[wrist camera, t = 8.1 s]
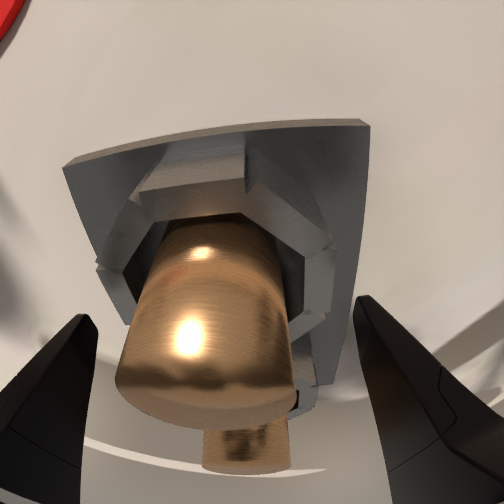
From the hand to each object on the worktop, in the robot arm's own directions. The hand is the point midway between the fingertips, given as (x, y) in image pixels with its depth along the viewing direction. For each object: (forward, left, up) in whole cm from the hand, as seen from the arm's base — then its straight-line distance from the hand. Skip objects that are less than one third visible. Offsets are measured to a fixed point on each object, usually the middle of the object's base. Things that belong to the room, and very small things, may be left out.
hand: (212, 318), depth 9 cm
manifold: (0, +5, -5) cm, 7 cm away
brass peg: (0, 0, -4) cm, 4 cm away
